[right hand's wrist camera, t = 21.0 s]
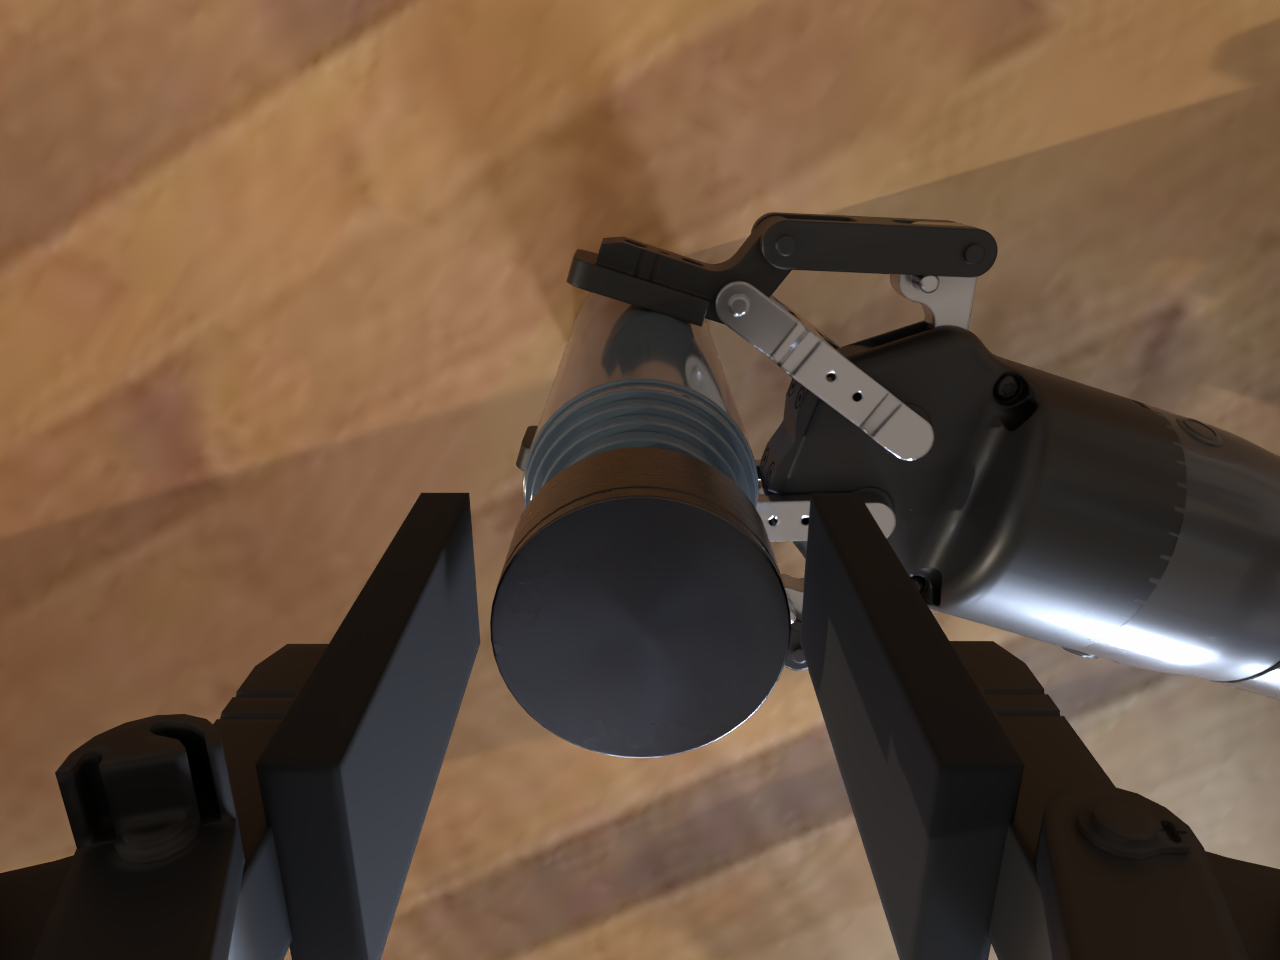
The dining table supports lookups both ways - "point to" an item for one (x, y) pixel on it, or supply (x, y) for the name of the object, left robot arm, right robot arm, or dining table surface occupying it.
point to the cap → (640, 605)
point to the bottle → (638, 396)
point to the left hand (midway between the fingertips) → (549, 358)
